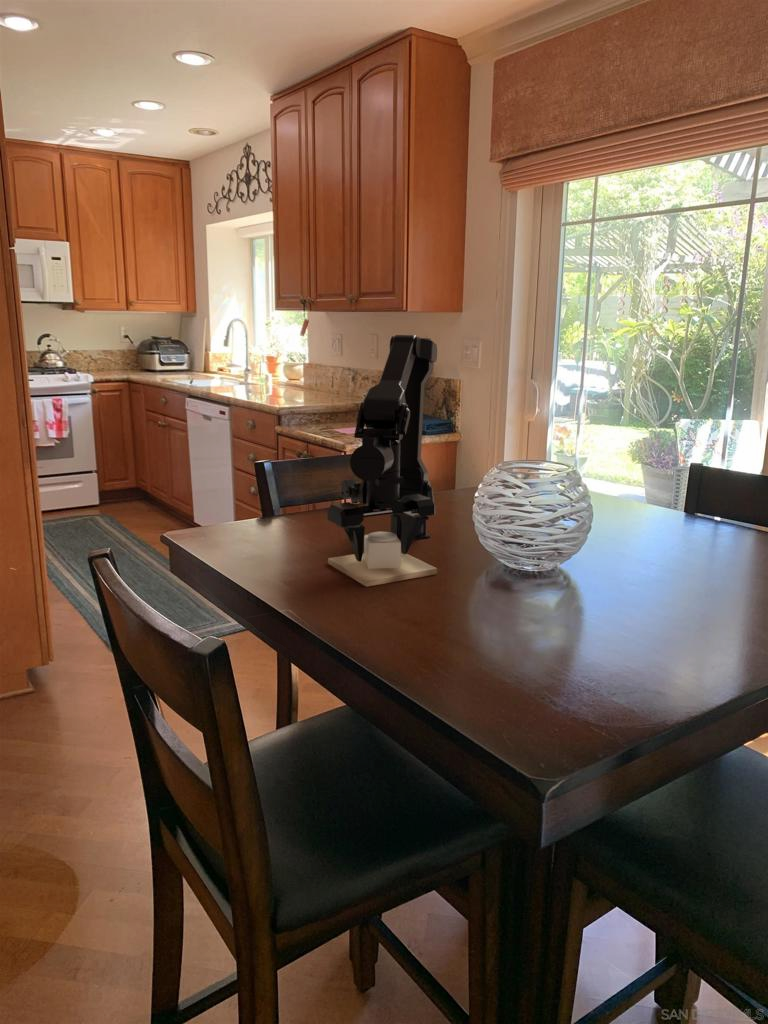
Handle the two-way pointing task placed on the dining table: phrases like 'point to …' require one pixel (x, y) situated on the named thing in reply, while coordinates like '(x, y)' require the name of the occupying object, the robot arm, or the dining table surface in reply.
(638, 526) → the dining table surface
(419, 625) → the dining table surface
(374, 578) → the stud plate
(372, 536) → the white domed square block
